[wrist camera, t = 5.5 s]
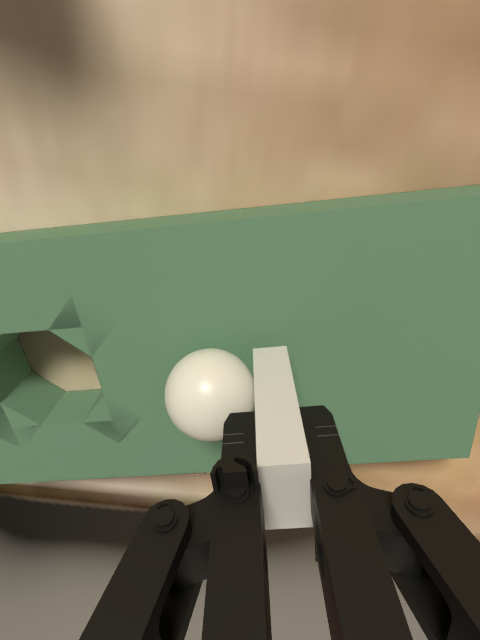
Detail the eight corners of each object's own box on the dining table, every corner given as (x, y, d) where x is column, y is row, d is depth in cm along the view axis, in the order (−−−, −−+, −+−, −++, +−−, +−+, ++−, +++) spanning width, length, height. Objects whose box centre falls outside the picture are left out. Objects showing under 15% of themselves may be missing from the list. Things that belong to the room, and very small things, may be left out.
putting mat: (15, 447, 24) (-14, 484, 21) (-84, 241, 18) (-143, 257, 15) (442, 420, 22) (469, 457, 20) (484, 184, 17) (531, 190, 14)
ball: (259, 399, 18) (183, 403, 19) (252, 329, 17) (168, 335, 17) (259, 460, 15) (164, 464, 15) (250, 379, 13) (143, 386, 13)
